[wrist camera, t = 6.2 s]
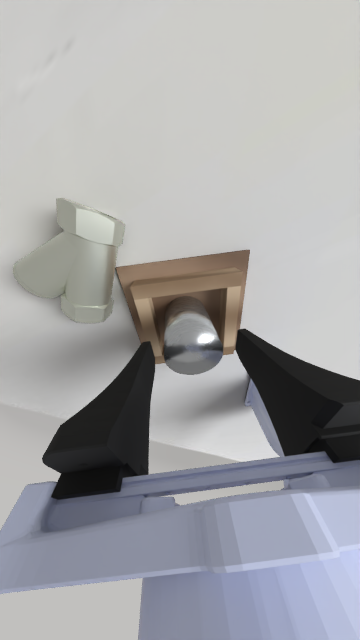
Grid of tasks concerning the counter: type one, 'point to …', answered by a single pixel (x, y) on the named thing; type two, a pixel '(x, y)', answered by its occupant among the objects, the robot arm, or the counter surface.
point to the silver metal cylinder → (190, 337)
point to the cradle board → (187, 294)
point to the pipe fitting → (76, 263)
